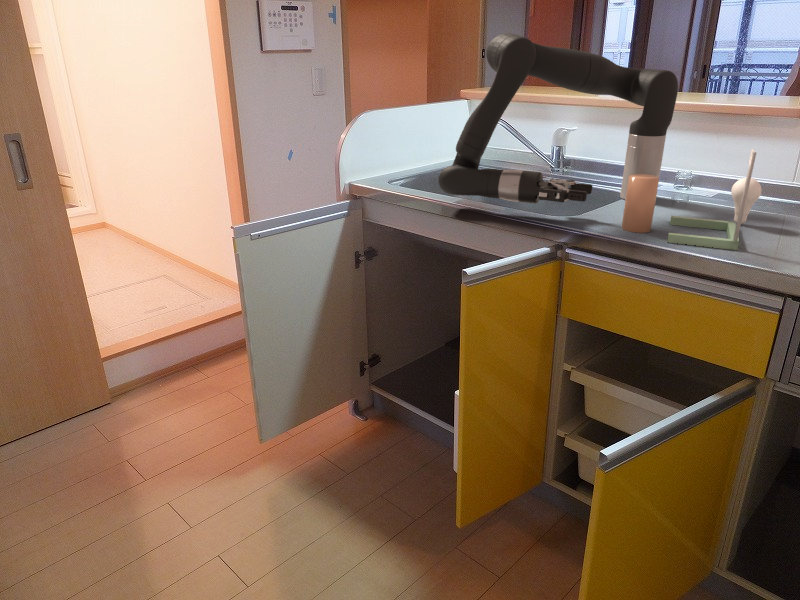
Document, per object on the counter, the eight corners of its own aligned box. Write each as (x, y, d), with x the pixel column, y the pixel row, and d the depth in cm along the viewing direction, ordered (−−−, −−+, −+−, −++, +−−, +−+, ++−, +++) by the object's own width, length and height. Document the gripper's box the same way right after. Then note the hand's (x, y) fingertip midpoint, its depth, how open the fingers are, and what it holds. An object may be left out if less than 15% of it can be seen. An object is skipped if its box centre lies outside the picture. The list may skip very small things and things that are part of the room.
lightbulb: (728, 219, 152) (737, 174, 147) (756, 223, 148) (766, 177, 144) (721, 224, 147) (731, 178, 143) (750, 229, 144) (761, 181, 139)
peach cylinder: (622, 223, 148) (630, 173, 143) (651, 226, 145) (660, 175, 141) (620, 230, 142) (627, 178, 138) (649, 234, 140) (658, 180, 135)
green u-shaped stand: (670, 223, 149) (684, 137, 141) (733, 229, 144) (752, 141, 136) (667, 242, 134) (683, 148, 127) (737, 250, 129) (758, 153, 122)
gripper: (514, 175, 144) (587, 182, 138) (528, 165, 156) (595, 171, 150) (511, 207, 146) (582, 215, 140) (525, 195, 159) (591, 202, 153)
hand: (589, 192), depth 145 cm, fingers open, 8 cm apart
